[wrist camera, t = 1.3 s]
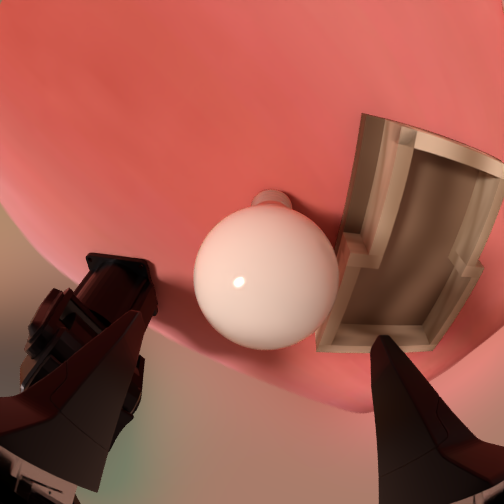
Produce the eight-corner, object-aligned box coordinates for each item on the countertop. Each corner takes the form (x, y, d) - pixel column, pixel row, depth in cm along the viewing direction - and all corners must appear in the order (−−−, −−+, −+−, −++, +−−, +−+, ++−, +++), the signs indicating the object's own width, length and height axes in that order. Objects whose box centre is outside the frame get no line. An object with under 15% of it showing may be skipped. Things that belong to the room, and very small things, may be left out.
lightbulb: (336, 212, 19) (377, 340, 10) (265, 258, 21) (252, 389, 12) (278, 139, 16) (277, 220, 7) (206, 197, 19) (143, 315, 10)
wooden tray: (314, 321, 25) (316, 351, 22) (361, 112, 15) (380, 120, 12) (422, 324, 24) (432, 350, 21) (494, 156, 14) (521, 173, 11)
